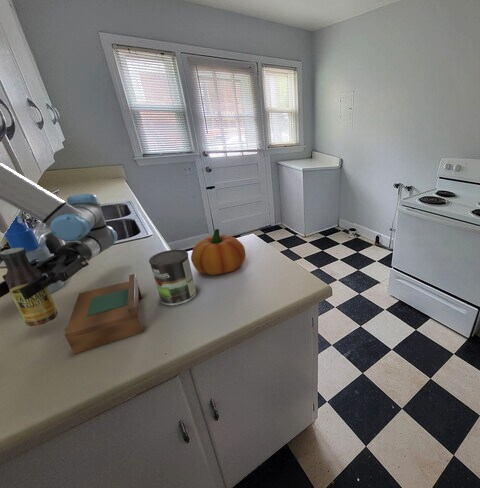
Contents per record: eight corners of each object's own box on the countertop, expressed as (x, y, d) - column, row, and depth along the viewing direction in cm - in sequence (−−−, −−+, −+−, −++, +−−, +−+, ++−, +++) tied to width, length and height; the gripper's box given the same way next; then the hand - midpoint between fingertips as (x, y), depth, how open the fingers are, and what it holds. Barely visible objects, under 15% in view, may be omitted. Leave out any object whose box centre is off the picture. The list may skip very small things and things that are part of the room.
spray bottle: (70, 280, 95) (39, 212, 85) (51, 295, 87) (15, 221, 77) (41, 282, 93) (6, 213, 83) (19, 297, 85) (-22, 223, 75)
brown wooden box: (74, 354, 64) (60, 327, 61) (86, 310, 79) (76, 287, 76) (143, 331, 71) (134, 307, 68) (142, 295, 86) (135, 273, 83)
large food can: (177, 309, 80) (166, 267, 74) (153, 301, 83) (140, 261, 78) (204, 290, 89) (195, 252, 83) (180, 284, 92) (170, 247, 86)
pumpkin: (182, 274, 98) (172, 236, 92) (216, 253, 115) (210, 219, 109) (226, 283, 93) (219, 243, 87) (256, 259, 109) (252, 224, 103)
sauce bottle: (27, 331, 67) (-14, 259, 59) (26, 320, 71) (-13, 251, 63) (62, 318, 71) (29, 250, 63) (59, 308, 75) (27, 243, 67)
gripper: (115, 261, 85) (59, 305, 64) (47, 265, 83) (-33, 312, 62) (107, 239, 82) (46, 278, 61) (37, 243, 80) (-51, 284, 59)
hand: (6, 295), depth 62 cm, fingers closed on sauce bottle, 6 cm apart
